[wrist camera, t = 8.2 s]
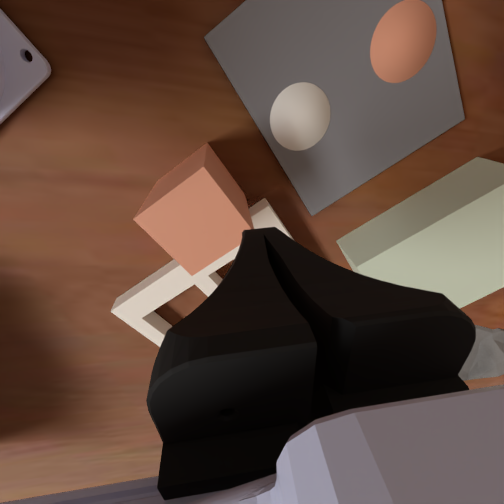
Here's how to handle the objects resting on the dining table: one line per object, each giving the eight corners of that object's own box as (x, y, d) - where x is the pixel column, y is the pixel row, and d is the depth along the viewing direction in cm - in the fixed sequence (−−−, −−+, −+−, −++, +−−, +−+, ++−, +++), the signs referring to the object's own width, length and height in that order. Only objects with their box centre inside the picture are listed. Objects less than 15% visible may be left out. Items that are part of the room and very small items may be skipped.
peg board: (116, 298, 22) (110, 311, 20) (265, 197, 19) (268, 205, 17) (191, 355, 26) (190, 368, 25) (321, 280, 23) (328, 291, 22)
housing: (334, 238, 22) (356, 267, 18) (473, 155, 19) (528, 170, 16) (372, 306, 26) (396, 339, 22) (489, 244, 24) (536, 271, 20)
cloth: (575, 305, 30) (600, 321, 28) (516, 382, 37) (533, 398, 35) (344, 333, 28) (354, 351, 26) (329, 408, 35) (336, 427, 33)
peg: (157, 180, 17) (132, 219, 12) (207, 142, 17) (203, 166, 11) (198, 226, 19) (191, 276, 14) (244, 194, 18) (255, 234, 13)
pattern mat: (204, 38, 14) (203, 36, 14) (407, -139, 12) (413, -147, 11) (310, 213, 20) (312, 216, 19) (460, 118, 17) (465, 119, 17)
